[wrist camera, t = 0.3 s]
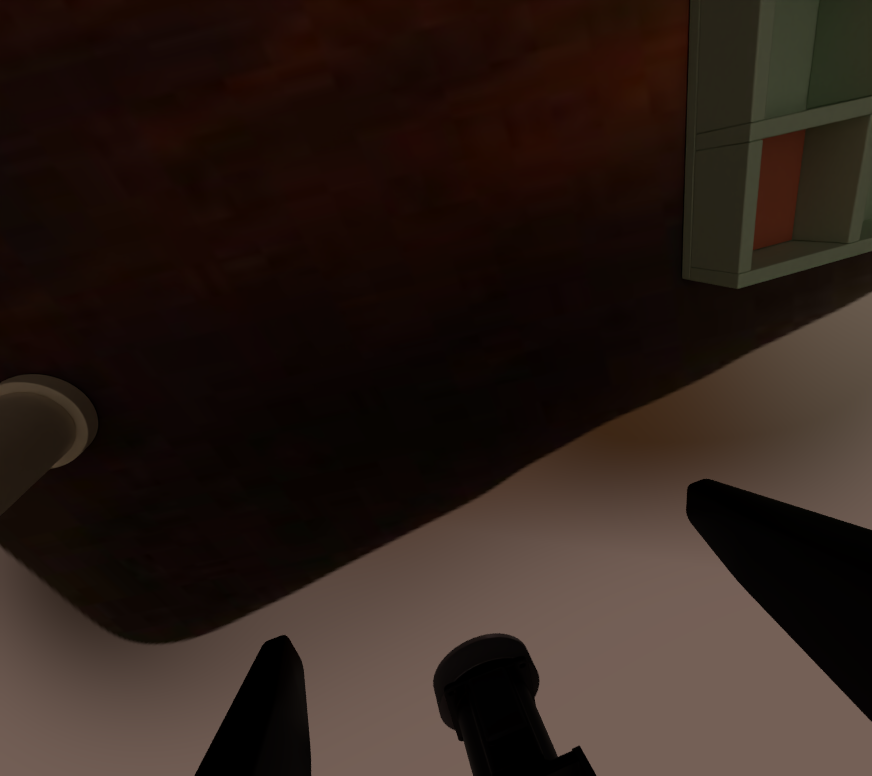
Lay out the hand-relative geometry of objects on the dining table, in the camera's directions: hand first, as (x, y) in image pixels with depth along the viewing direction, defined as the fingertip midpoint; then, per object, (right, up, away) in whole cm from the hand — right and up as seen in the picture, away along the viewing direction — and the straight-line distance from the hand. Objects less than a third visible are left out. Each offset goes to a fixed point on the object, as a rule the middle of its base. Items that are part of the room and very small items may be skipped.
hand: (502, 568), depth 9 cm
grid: (+17, +17, +13) cm, 27 cm away
